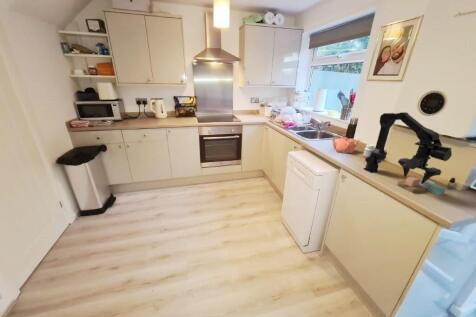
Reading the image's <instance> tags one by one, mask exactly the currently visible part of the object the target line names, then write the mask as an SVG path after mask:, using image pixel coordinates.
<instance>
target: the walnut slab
mask: <svg viewBox="0 0 476 317" xmlns="http://www.w3.org/2000/svg"><path fill="white" fill-rule="evenodd" d="M405 182H406V180H401V181H398V182H397V184H396V186H397V187H399V188H401V189H404V190H406V191H408V192H410V193H411V192H412V194H414V193H422V192H425V190H426V187H424V186H421V185H417V186H409V185H407V184H405Z"/></svg>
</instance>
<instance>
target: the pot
mask: <svg viewBox="0 0 476 317" xmlns="http://www.w3.org/2000/svg"><path fill="white" fill-rule="evenodd" d="M330 139H331V141H332V146H333V149H334V150H336V152H337V153H343V154H352V153H353V152H354V150H355V149H356V147H357V145H358V142H360V141H361V139H356V140H355V142H354V140H353V139H351V138H348V137H344V136H343V135H341V136H340V137H339V138H336V139H335V138H333V137H330ZM335 140H336V141H335Z"/></svg>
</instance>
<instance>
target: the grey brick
mask: <svg viewBox="0 0 476 317" xmlns="http://www.w3.org/2000/svg"><path fill="white" fill-rule="evenodd" d="M420 179H421V181H420V183H419V185H421V186H424V187H426V188H425V190H427V188H428V186H429V184H436V185H437V182H434V181H432V180H429V179H428V180H427V181H426V182H424V183H423V184H421V182H422V179H423V178H420Z"/></svg>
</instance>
